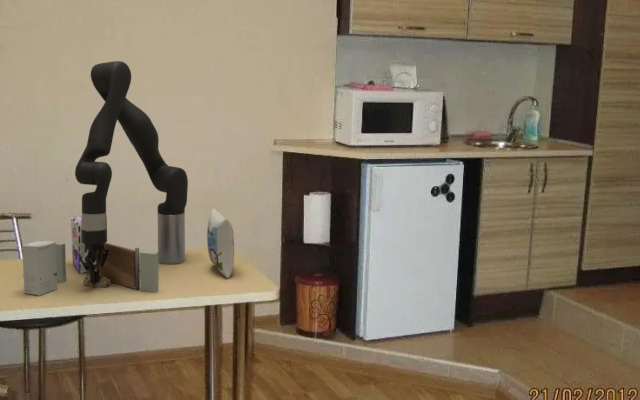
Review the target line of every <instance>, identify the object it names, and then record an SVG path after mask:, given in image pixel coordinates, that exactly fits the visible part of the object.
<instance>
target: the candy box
mask: <svg viewBox="0 0 640 400" xmlns="http://www.w3.org/2000/svg"><path fill="white" fill-rule="evenodd" d="M81 217H82V215H81V216H71V217H70V222H71V223H70V225H71V254H72V255H71V257H72V265H73V266H74V268H75V269H76V271H77V272H78V273H79V274H87V270H85V268H84V266H83V264H82V263H81V261H80V257H81V256H82V257H83V256H84V254H85V252H84V250H85V244H84V243H82V242H81Z"/></svg>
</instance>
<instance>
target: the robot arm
mask: <svg viewBox="0 0 640 400" xmlns="http://www.w3.org/2000/svg"><path fill="white" fill-rule="evenodd" d="M90 78H91V79H90V80H91V83H92V85H93V87H94V88H95V90H96V92H97V93H98V94H99V95H100V98H102V100H103V101H104V104H103V105H102V107H101V109H100V110H99V112H98V113H97V114H96V116H95V118H94V119H93V122H92V123H91V125H90V129H89V133H88V137H87V142H86V146H85V148H84V150H83V152H82V155H81V156H80V158H79V160H78V161H77V164H76V166H75V169H74V176H75V180H76V181H77V182H78V184H80V185H81V184H82V185H87V186H88V185H89V186H96V188H95V190H94V191H91V192H85V193H84V194H82V196H81V216H82V217H81V242H82V243H84V244H85V250H84V252H85V254H84V256H83V257H82V256H81V257H80V261H81V263H82V264H83V266H84V268H85V270H87V271H90V282H91V283H95V284H96V283H98V282H99V271H100V269H101V267H103V266H104V263H105V260H106V257H107V254H108V249H105V248H104V243H108V216H107V196H108V192H109V188H110V185H111V180H112V178H113V171H112V167H111V165H109V163H107V162H105V161H97V159H100V158H103V157H107V156H109V155H110V152H111V148H112V144H113V140H114V139H113V138H114V134H115V129H116V127H117V126H116V125H117V122H118V124H120V126H121V128H122V129H123V131H124V134H125V135H126V138H128V141H129V142H130V144H131V145H132V147H133V148H134V150H135V152H136V153H137V155H138V157H139V158H140V160H141V161H142V163H143V165H144V168H145V170H146V171H147V174H148V177H149V179H150V181H151V183H152V185H153V186H154V188H155V189H156V190H157V191H158V192H162V193H165V200H164V202H161V203H159V204H157V253H158V263H159V264H160V263H161V264H163V265H164V264H165V265H175V264H176V265H177V264H182V263H184V262H185V260H186V221H185V220H186V219H185V218H186V217H185V216H186V214H185V213H186V212H185V211H186V206H187V202H188V191H189V189H188V188H189V187H188V186H189V180H188V174H187V172H186V170H185V169H183V168H181V167H177V166H173V165H172V166H171V165H168V164H167V162H166V161H165V160H164V159H163V157H162V155H161V153H160V150H159V143H160V142H159V133H158V131H157V129H156V127H155V125H154V123H153V122H152V120H151V118H150V117H149V115H147V113H146V112H145V111H143V110H142V109H141V108H140V107H138V106H137V105H136V104H134V103H132V102H131V100H130V99H128V98H127V94H128V91H129V89H130V87H131V84H132V83H131V82H132V72H131V68H130V66H129V65H128V64H127V63H126V62H124V61H122V60H121V61H119V60H117V61H107V62H102V63H101V62H100V63H97V64H95V65H93V66H92V68H91V70H90Z"/></svg>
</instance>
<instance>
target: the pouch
mask: <svg viewBox="0 0 640 400" xmlns="http://www.w3.org/2000/svg"><path fill="white" fill-rule="evenodd" d="M206 231H207V232H206V235H207V236H206V238H207V239H206V240H207V252H208V256H209V259H210V261H211V263H212V264H213V265H214V266H215V267H216V269H217V270H219V272H220V273H221V274H222V275H223V276H224V277H225V278H226V279H230V276H231V275H232V272H233V268H234V262H235V237H234V236H235V235H234V229H233V226H232V223H231V222H230V220H229V219H227V218H225V216H223V215H222V214H221V213H220V212H219V211H218V210H216V209H215V208H214V207H212V209H211V211H210V213H209V217H208V221H207V230H206Z"/></svg>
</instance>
